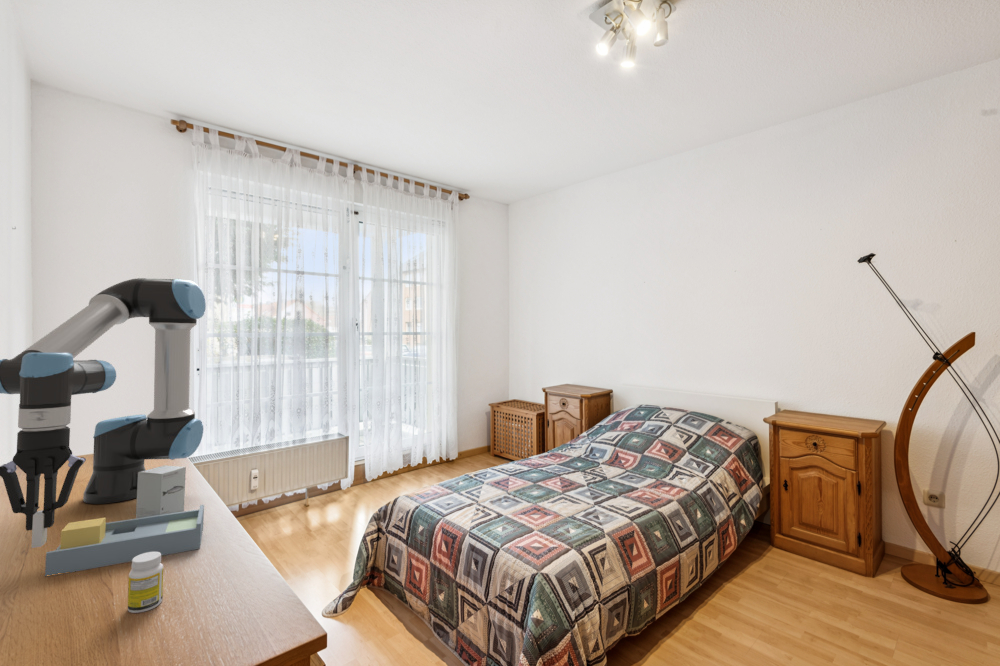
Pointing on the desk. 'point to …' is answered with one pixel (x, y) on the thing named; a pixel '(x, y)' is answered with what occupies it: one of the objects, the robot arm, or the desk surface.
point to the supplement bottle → (145, 582)
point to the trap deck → (132, 541)
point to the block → (83, 533)
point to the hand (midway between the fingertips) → (39, 544)
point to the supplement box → (160, 491)
